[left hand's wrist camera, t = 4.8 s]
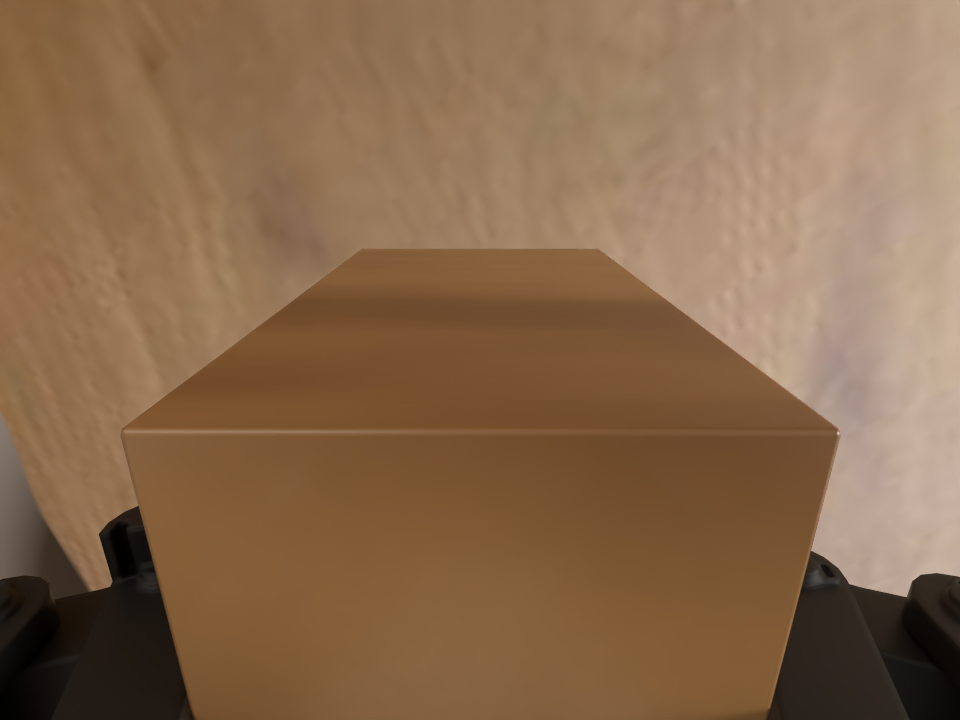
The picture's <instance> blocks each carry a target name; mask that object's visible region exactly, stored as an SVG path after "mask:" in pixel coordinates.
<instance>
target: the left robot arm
mask: <svg viewBox="0 0 960 720" xmlns="http://www.w3.org/2000/svg"><path fill="white" fill-rule="evenodd" d="M99 536H100V540H101V543H102V546H103V550H104V553H105V557H106V560H107V564H108V567H109V570H110V574H111V577H112V581H113V582H112V584H111V587H108V588H104V589H101V590H96V591H92V592H87V593H83V594H78V595H74V596H69V597H64V598H60V599H55V600H54V597H53V594H52V591H51V588H50V585H49V583H47V582H46V581H45V580H43V579H42V578H41V577H33V576H19V577H13V578H6V579H2V580H0V720H194V719H193V715H192V711H191V708H190V704H189V700H188V696H187V692H186V688H185V684H184V680H183V676H182V673H181V669H180V665H179V661H178V657H177V653H176V649H175V645H174V641H173V637H172V634H171V630H170V626H169V622H168V618H167V614H166V610H165V606H164V602H163V599H162V595H161V591H160V587H159V583H158V579H157V575H156V571H155V567H154V563H153V560H152V556H151V552H150V548H149V544H148V540H147V536H146V532H145V528H144V525H143V521H142V517H141V513H140V509H139V506H137V507H135V508H133V509H130V510H128V511H126V512H124V513H122V514H121V515H119V516H118V517H116V518H115V519H113V520H112V521H110V522H109V523H108V524H107V525H106V526H105V527H104V529H103V530H102V531H101V532H100V533H99ZM767 720H960V577H957V576H951V575H945V574H938V573H934V574H925V575H920V576H919V577H918V578H916V579H915V580H914V581H912V584H911V587H910V590H909V592H908V595H907V597H902V596H898V595H893V594H889V593H884V592H879V591H875V590H870V589H866V588H861V587H857V586H854V585H850V584H849V583H848V581H847V580H846V578H845V577H844V576H843V574H842V573H841V571H840V570H839V569H838V568H837V567H836V566H835V565H833V564H832V563H831V562H829V561H828V560H827V559H825V558H824V557H823V556H820V555H818V554H816V553H814V552H812V551H811V552H810V556H809V560H808V563H807V567H806V571H805V575H804V579H803V583H802V587H801V591H800V595H799V598H798V602H797V606H796V610H795V614H794V618H793V622H792V626H791V629H790V633H789V637H788V641H787V645H786V649H785V653H784V657H783V660H782V664H781V668H780V672H779V676H778V680H777V684H776V688H775V692H774V695H773V699H772V703H771V707H770V711H769V715H768V719H767Z"/></svg>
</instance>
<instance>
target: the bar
mask: <svg viewBox="0 0 960 720" xmlns="http://www.w3.org/2000/svg"><path fill="white" fill-rule="evenodd" d="M121 439H122V443H123V447H124V451H125V454H126V458H127V462H128V466H129V470H130V474H131V478H132V482H133V486H134V489H135V493H136V497H137V501H138V505H139V509H140V513H141V517H142V521H143V525H144V528H145V532H146V536H147V540H148V544H149V548H150V552H151V556H152V560H153V563H154V567H155V571H156V575H157V579H158V583H159V587H160V591H161V595H162V599H163V602H164V606H165V610H166V614H167V618H168V622H169V626H170V630H171V634H172V637H173V641H174V645H175V649H176V653H177V657H178V661H179V665H180V669H181V673H182V676H183V680H184V684H185V688H186V692H187V696H188V700H189V704H190V708H191V711H192V715H193V719H194V720H767V719H768V715H769V711H770V707H771V703H772V699H773V695H774V692H775V688H776V684H777V680H778V676H779V672H780V668H781V664H782V660H783V657H784V653H785V649H786V645H787V641H788V637H789V633H790V629H791V626H792V622H793V618H794V614H795V610H796V606H797V602H798V598H799V595H800V591H801V587H802V583H803V579H804V575H805V571H806V567H807V563H808V560H809V556H810V552H811V548H812V544H813V540H814V536H815V532H816V529H817V525H818V521H819V517H820V513H821V509H822V505H823V501H824V498H825V494H826V490H827V486H828V482H829V478H830V474H831V470H832V467H833V463H834V459H835V455H836V451H837V447H838V443H839V439H840V431H839V429H838V428H837V427H836V426H834V425H833V424H832V423H830V422H829V421H828V420H826V419H825V418H824V417H822V416H821V415H820V414H818V413H817V412H816V411H814V410H813V409H812V408H810V407H809V406H808V405H806V404H805V403H804V402H802V401H801V400H799V399H798V398H797V397H795V396H794V395H793V394H791V393H790V392H789V391H787V390H786V389H785V388H783V387H782V386H781V385H779V384H778V383H777V382H775V381H774V380H773V379H771V378H770V377H769V376H767V375H766V374H765V373H763V372H762V371H761V370H759V369H758V368H757V367H755V366H754V365H753V364H751V363H750V362H749V361H747V360H746V359H745V358H743V357H742V356H741V355H739V354H738V353H737V352H735V351H734V350H733V349H731V348H730V347H729V346H727V345H726V344H725V343H723V342H722V341H721V340H719V339H718V338H717V337H715V336H714V335H713V334H711V333H710V332H709V331H707V330H706V329H705V328H703V327H702V326H701V325H699V324H698V323H697V322H695V321H694V320H692V319H691V318H690V317H688V316H687V315H686V314H684V313H683V312H682V311H680V310H679V309H678V308H676V307H675V306H674V305H672V304H671V303H670V302H668V301H667V300H666V299H664V298H663V297H662V296H660V295H659V294H658V293H656V292H655V291H654V290H652V289H651V288H650V287H648V286H647V285H646V284H644V283H643V282H642V281H640V280H639V279H638V278H636V277H635V276H634V275H632V274H631V273H630V272H628V271H627V270H626V269H624V268H623V267H622V266H620V265H619V264H618V263H616V262H615V261H614V260H612V259H611V258H610V257H608V256H607V255H606V254H604V253H603V252H602V251H600V250H599V249H362V250H360V251H359V252H358V253H356V254H355V255H354V256H352V257H351V258H350V259H348V260H347V261H346V262H344V263H343V264H342V265H340V266H339V267H338V268H336V269H335V270H334V271H332V272H331V273H330V274H328V275H327V276H326V277H324V278H323V279H322V280H320V281H319V282H318V283H316V284H315V285H314V286H312V287H311V288H310V289H308V290H307V291H306V292H304V293H303V294H302V295H300V296H299V297H298V298H296V299H295V300H294V301H292V302H291V303H290V304H288V305H287V306H286V307H284V308H283V309H282V310H280V311H279V312H278V313H276V314H275V315H273V316H272V317H271V318H269V319H268V320H267V321H265V322H264V323H263V324H261V325H260V326H259V327H257V328H256V329H255V330H253V331H252V332H251V333H249V334H248V335H247V336H245V337H244V338H243V339H241V340H240V341H239V342H237V343H236V344H235V345H233V346H232V347H231V348H229V349H228V350H227V351H225V352H224V353H223V354H221V355H220V356H219V357H217V358H216V359H215V360H213V361H212V362H211V363H209V364H208V365H207V366H205V367H204V368H203V369H201V370H200V371H199V372H197V373H196V374H195V375H193V376H192V377H191V378H189V379H188V380H187V381H185V382H184V383H183V384H181V385H180V386H179V387H177V388H176V389H175V390H173V391H172V392H171V393H169V394H168V395H167V396H165V397H164V398H163V399H161V400H160V401H159V402H157V403H156V404H155V405H153V406H152V407H151V408H149V409H148V410H147V411H145V412H144V413H143V414H141V415H140V416H139V417H137V418H136V419H135V420H133V421H132V422H131V423H129V424H128V425H127V426H125V427H124V428H123V429H122V431H121Z"/></svg>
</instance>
